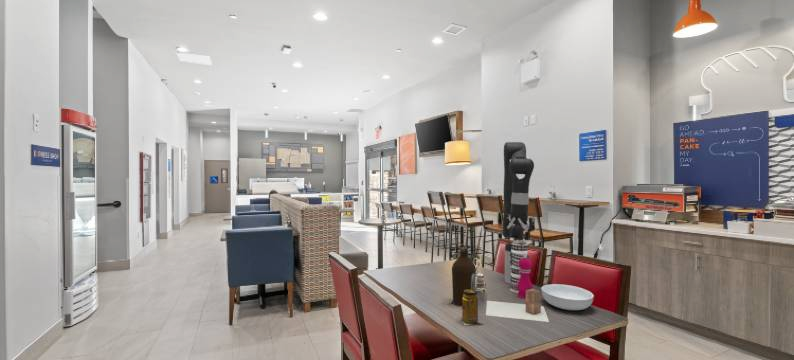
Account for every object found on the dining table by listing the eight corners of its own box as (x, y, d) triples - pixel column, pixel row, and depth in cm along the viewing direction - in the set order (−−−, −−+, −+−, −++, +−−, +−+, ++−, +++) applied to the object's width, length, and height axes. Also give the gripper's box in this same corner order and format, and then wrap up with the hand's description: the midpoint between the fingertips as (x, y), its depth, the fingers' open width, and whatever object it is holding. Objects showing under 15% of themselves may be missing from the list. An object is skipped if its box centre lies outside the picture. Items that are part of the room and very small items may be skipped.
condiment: (459, 318, 145) (459, 288, 145) (479, 317, 146) (480, 288, 146) (464, 325, 138) (464, 294, 138) (485, 325, 139) (486, 293, 139)
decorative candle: (507, 287, 186) (507, 239, 186) (525, 287, 186) (526, 239, 185) (512, 293, 177) (512, 242, 177) (531, 293, 177) (531, 242, 176)
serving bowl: (551, 315, 149) (552, 298, 149) (534, 298, 170) (534, 283, 170) (603, 316, 149) (603, 299, 149) (579, 299, 170) (579, 284, 170)
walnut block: (525, 311, 152) (525, 290, 151) (532, 309, 154) (532, 288, 154) (533, 315, 148) (533, 293, 148) (540, 312, 151) (541, 291, 151)
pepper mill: (515, 298, 170) (515, 255, 169) (517, 293, 176) (518, 252, 176) (531, 300, 166) (532, 257, 166) (533, 296, 173) (534, 254, 172)
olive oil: (449, 306, 159) (450, 249, 158) (453, 298, 169) (454, 245, 168) (474, 309, 155) (475, 251, 155) (476, 301, 165) (477, 246, 165)
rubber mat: (487, 301, 165) (487, 300, 165) (543, 306, 159) (543, 306, 159) (485, 316, 148) (485, 315, 148) (549, 322, 141) (549, 321, 141)
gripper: (538, 204, 160) (537, 240, 161) (511, 200, 171) (509, 234, 172) (529, 205, 155) (527, 242, 156) (501, 201, 167) (500, 236, 167)
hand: (518, 238), depth 164 cm, fingers open, 8 cm apart
